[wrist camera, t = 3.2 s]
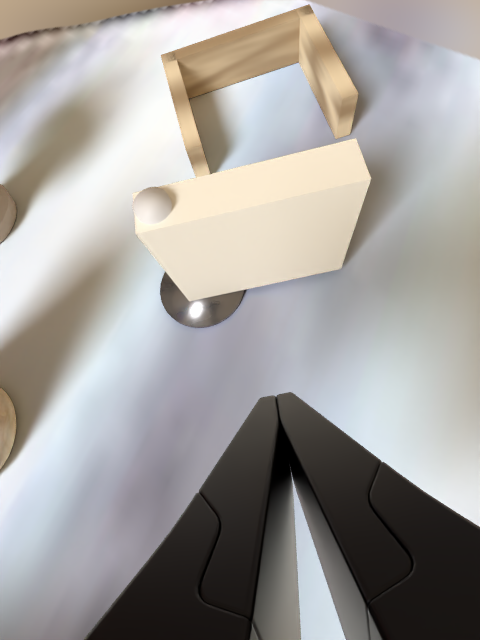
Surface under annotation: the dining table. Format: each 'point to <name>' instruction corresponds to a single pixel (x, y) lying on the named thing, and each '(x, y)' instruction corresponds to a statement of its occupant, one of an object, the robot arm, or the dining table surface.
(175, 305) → the pivot plate
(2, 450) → the stacking toy
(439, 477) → the dining table surface
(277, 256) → the lever
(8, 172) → the dining table surface
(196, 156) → the tray
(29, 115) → the dining table surface
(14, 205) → the decorative mushroom
